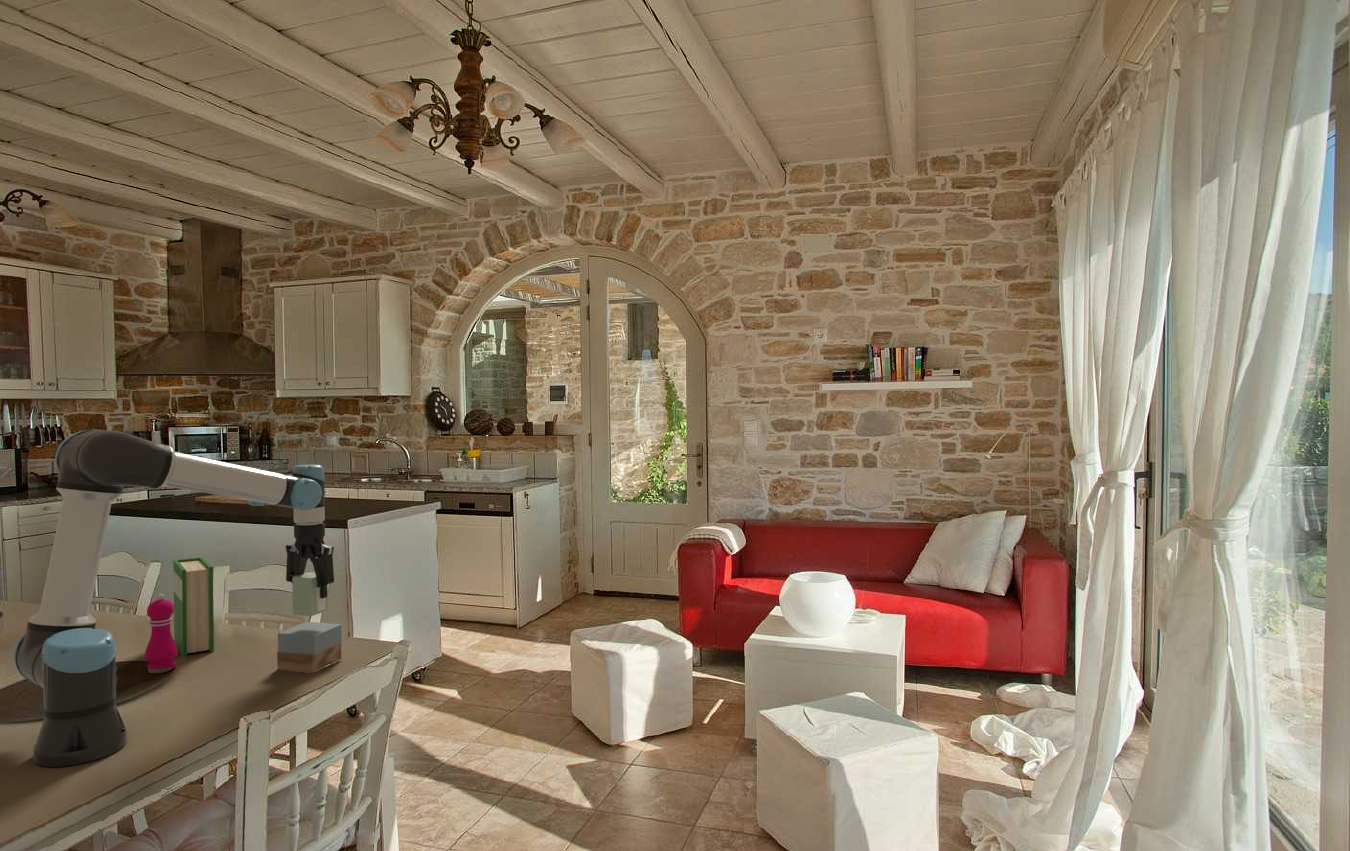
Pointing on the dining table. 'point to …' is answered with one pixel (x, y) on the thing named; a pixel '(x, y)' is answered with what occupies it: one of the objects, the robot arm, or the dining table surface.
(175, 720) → the dining table surface
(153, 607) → the pepper mill
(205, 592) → the hardback book
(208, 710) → the dining table surface
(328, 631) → the tower top block
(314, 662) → the tower bottom block
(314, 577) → the sage block
